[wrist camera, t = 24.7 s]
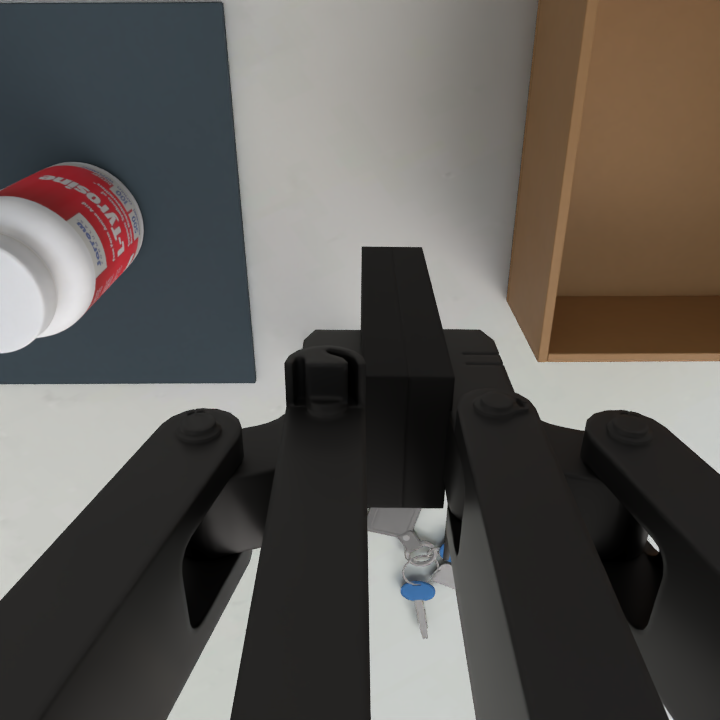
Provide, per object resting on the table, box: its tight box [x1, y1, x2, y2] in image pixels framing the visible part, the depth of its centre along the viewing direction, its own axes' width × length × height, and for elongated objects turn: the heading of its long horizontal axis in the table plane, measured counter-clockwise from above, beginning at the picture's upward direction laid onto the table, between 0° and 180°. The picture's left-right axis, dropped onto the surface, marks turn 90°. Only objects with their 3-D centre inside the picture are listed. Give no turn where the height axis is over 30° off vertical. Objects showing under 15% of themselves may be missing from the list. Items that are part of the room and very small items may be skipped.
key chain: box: [367, 508, 455, 639], centre depth 46 cm, size 14×8×1 cm, turn 22°
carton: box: [507, 0, 720, 362], centre depth 30 cm, size 18×15×7 cm
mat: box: [0, 2, 256, 384], centre depth 35 cm, size 20×16×1 cm
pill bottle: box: [0, 162, 144, 353], centre depth 30 cm, size 6×6×11 cm
